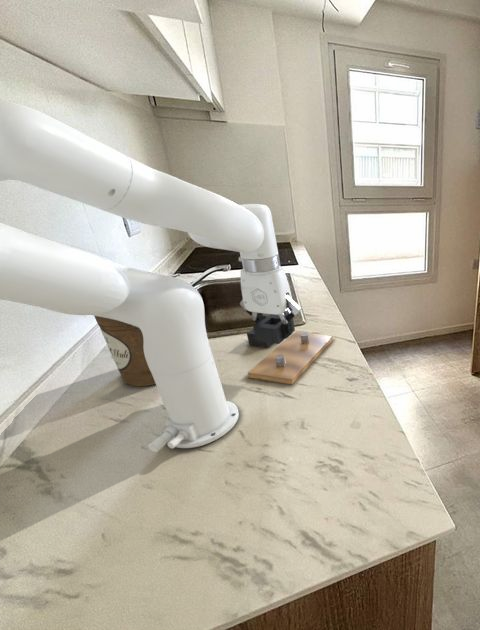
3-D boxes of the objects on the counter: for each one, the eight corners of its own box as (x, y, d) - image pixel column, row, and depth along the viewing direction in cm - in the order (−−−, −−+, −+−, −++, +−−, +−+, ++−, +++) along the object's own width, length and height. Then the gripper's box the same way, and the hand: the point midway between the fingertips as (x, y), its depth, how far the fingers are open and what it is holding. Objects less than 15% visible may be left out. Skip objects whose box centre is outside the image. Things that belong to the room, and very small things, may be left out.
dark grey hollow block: (267, 348, 94) (265, 335, 93) (249, 345, 95) (246, 333, 94) (282, 336, 101) (279, 324, 99) (264, 334, 102) (262, 322, 100)
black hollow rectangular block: (278, 344, 77) (275, 329, 76) (256, 341, 78) (252, 326, 77) (295, 330, 84) (292, 316, 82) (273, 327, 85) (271, 313, 83)
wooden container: (124, 365, 86) (89, 285, 76) (191, 347, 94) (167, 273, 84) (121, 395, 75) (80, 306, 65) (198, 372, 83) (171, 291, 74)
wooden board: (292, 384, 80) (289, 370, 78) (248, 377, 82) (245, 364, 80) (332, 340, 99) (331, 328, 97) (296, 335, 101) (294, 324, 99)
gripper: (215, 265, 71) (234, 337, 79) (287, 271, 68) (299, 346, 76) (239, 255, 78) (254, 323, 86) (305, 261, 75) (315, 331, 83)
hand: (275, 333), depth 81 cm, fingers closed on black hollow rectangular block, 6 cm apart
